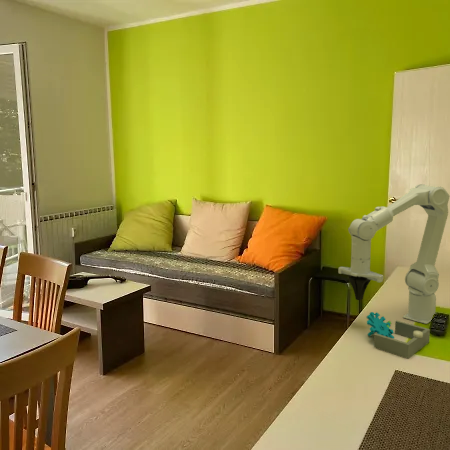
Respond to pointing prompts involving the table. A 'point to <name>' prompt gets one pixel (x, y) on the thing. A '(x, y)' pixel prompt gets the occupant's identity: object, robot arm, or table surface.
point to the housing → (399, 347)
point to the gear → (379, 325)
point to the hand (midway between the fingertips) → (359, 299)
